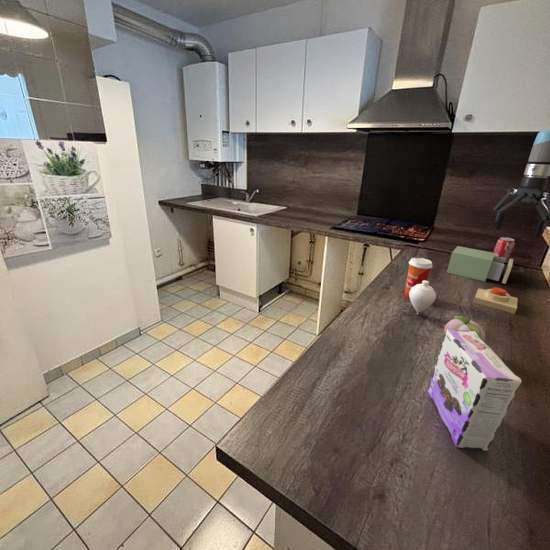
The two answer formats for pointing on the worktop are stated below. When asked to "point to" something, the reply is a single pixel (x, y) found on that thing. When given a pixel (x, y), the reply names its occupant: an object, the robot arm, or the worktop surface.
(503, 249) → the soda can
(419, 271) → the paper cup
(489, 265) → the cabinet
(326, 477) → the worktop surface
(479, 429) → the candy box
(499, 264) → the drawer
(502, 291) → the button
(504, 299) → the block
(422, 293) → the spinning top
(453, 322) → the decorative fruit
